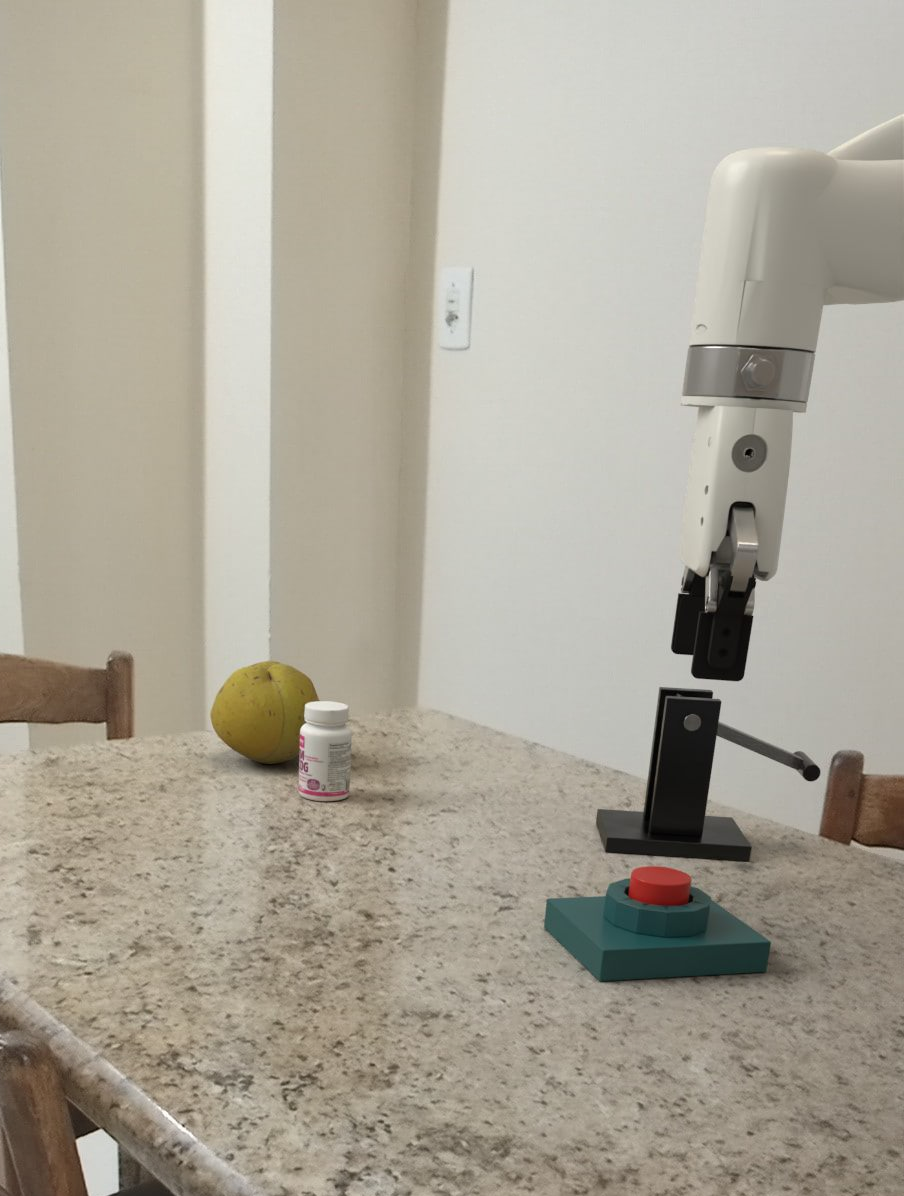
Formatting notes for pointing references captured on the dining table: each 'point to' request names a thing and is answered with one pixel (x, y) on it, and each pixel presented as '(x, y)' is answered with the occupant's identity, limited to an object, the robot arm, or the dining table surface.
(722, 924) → the button block
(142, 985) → the dining table surface
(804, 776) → the switch lever
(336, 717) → the pill bottle
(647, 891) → the stop button
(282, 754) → the fruit
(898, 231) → the robot arm
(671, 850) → the switch bracket
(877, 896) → the dining table surface
